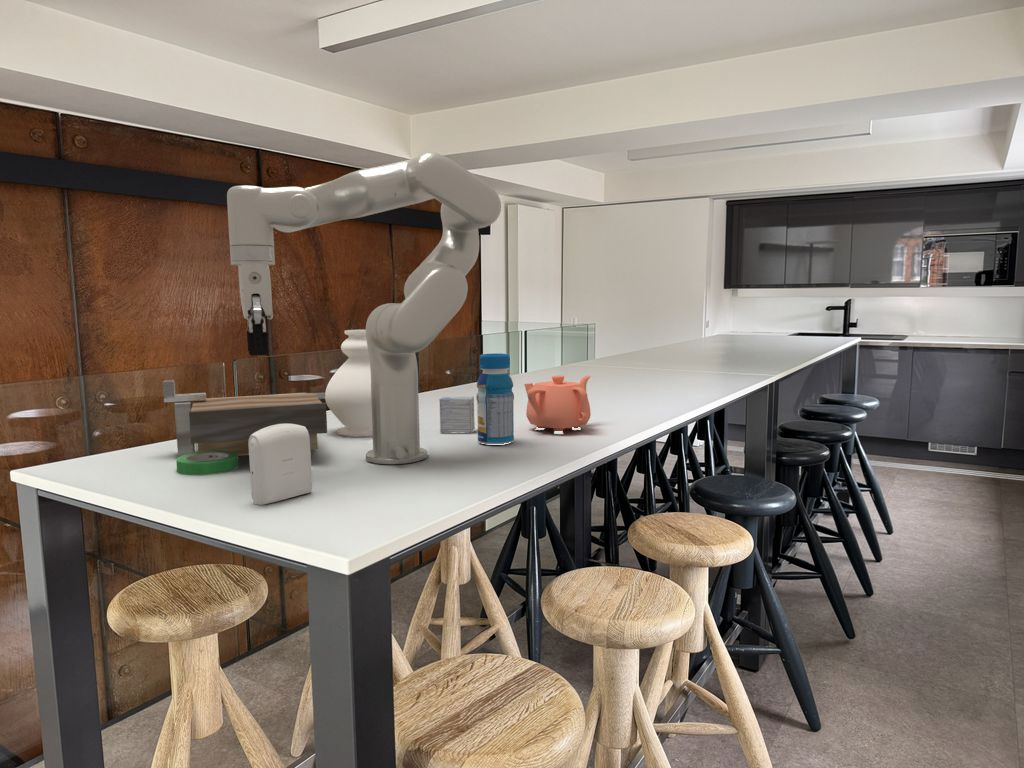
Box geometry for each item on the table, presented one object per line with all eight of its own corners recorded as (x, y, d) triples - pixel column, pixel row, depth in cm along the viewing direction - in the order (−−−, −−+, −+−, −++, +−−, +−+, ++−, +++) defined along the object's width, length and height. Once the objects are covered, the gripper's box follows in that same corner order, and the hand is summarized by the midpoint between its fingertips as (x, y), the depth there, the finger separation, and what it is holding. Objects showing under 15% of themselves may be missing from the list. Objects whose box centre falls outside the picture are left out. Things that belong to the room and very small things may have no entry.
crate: (317, 449, 157) (315, 397, 156) (177, 461, 147) (173, 406, 146) (307, 433, 176) (305, 387, 174) (182, 442, 165) (179, 394, 164)
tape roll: (250, 465, 144) (249, 452, 144) (210, 478, 134) (209, 464, 134) (205, 461, 148) (205, 448, 148) (164, 474, 138) (163, 460, 137)
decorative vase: (384, 422, 189) (381, 327, 186) (412, 433, 174) (409, 330, 171) (317, 430, 180) (313, 330, 177) (340, 442, 165) (336, 333, 162)
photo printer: (261, 507, 114) (257, 430, 113) (247, 502, 117) (243, 427, 115) (316, 493, 122) (313, 421, 120) (302, 489, 125) (298, 419, 123)
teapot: (524, 424, 184) (524, 372, 183) (590, 423, 185) (590, 371, 183) (527, 436, 168) (526, 379, 167) (598, 436, 169) (599, 379, 167)
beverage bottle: (502, 448, 156) (501, 356, 154) (469, 444, 160) (468, 355, 158) (521, 441, 164) (520, 353, 161) (489, 437, 168) (488, 352, 165)
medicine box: (475, 430, 177) (474, 395, 176) (472, 434, 173) (471, 398, 172) (443, 430, 178) (442, 395, 177) (439, 433, 173) (439, 398, 172)
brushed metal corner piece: (205, 399, 152) (204, 379, 151) (164, 402, 149) (162, 381, 148) (206, 398, 155) (205, 378, 154) (165, 400, 152) (163, 380, 151)
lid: (327, 433, 144) (326, 403, 143) (191, 443, 135) (189, 412, 134) (314, 415, 165) (312, 389, 164) (195, 423, 156) (193, 396, 155)
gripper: (277, 254, 123) (282, 356, 125) (271, 259, 139) (276, 349, 141) (230, 254, 120) (236, 358, 122) (230, 259, 136) (235, 351, 138)
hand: (257, 353), depth 132 cm, fingers open, 8 cm apart
